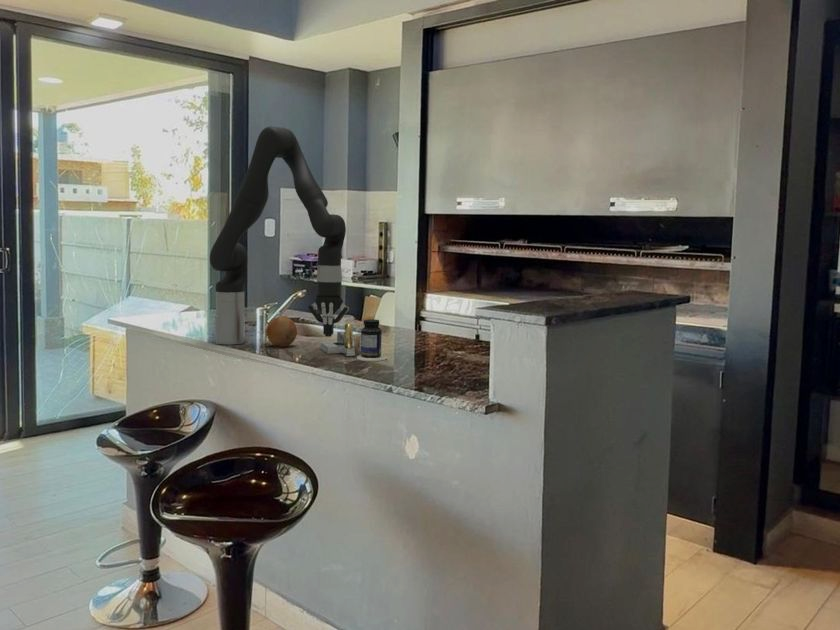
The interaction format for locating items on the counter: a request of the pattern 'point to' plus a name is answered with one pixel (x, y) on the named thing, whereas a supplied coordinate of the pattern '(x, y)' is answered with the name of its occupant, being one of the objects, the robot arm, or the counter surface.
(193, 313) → the counter surface
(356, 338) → the dowel
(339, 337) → the post
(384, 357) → the coaster
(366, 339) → the pill bottle
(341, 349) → the grey plate with post
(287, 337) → the onion
